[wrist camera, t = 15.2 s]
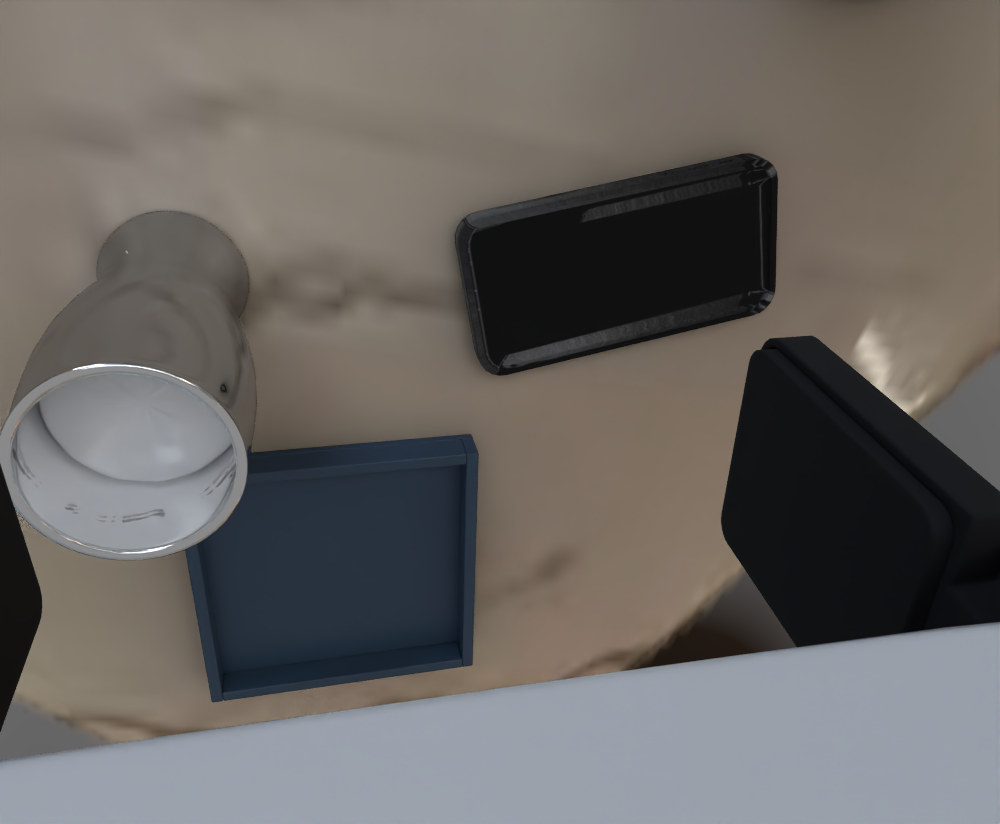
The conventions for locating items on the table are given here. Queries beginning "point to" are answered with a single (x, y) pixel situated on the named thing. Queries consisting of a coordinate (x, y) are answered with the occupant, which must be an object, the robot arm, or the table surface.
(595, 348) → the phone
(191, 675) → the table surface
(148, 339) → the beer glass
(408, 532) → the tray
